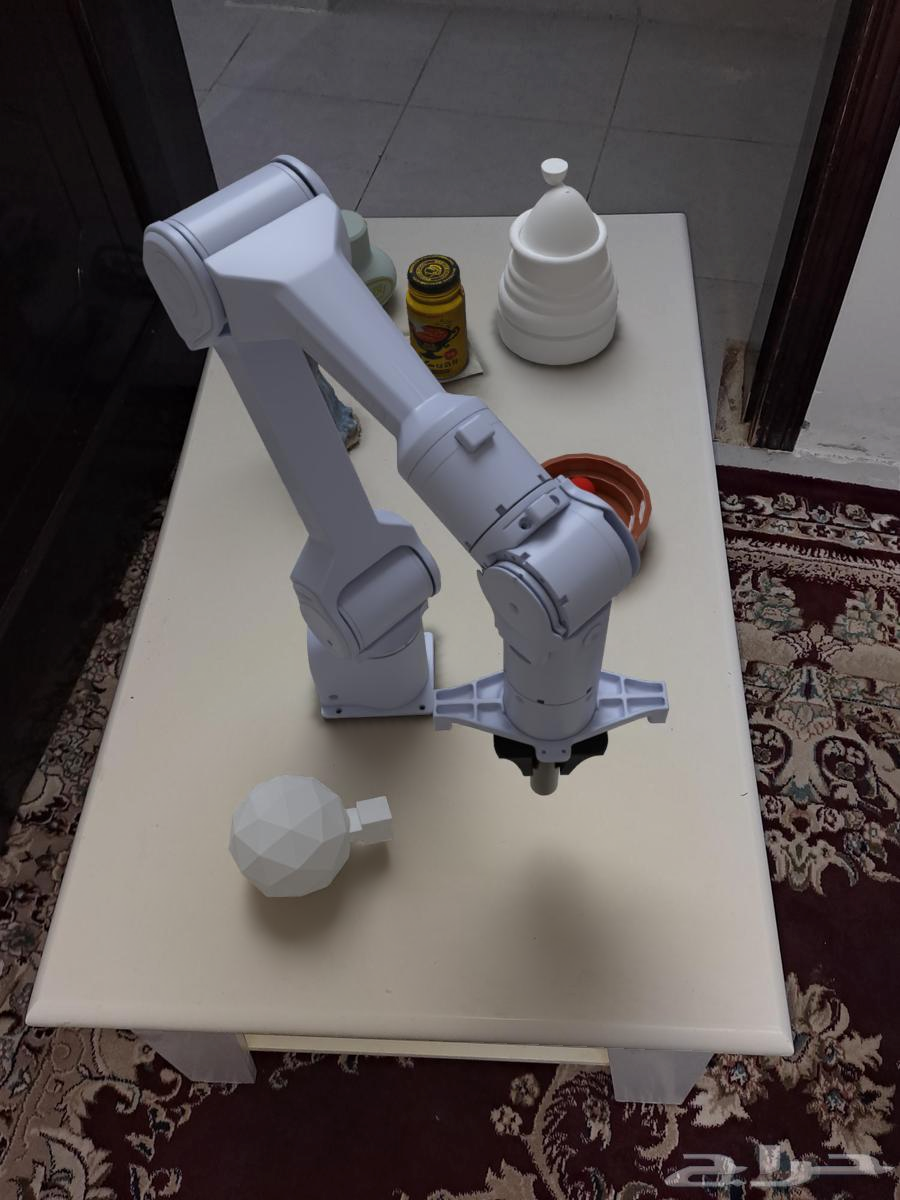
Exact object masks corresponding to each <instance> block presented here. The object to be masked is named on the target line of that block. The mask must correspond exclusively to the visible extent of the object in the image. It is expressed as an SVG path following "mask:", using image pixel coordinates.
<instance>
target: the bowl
mask: <svg viewBox="0 0 900 1200" xmlns="http://www.w3.org/2000/svg"><path fill="white" fill-rule="evenodd" d="M539 464H540V465H541V466H542V467H543V468H544V469H545V471H546V472H547V473H548V474H549V475H550V476H551V477H552V478H553V480H554V479H555V478H557V477H558V476H560V475H562V476H564V477H565V478H566V479H567V478H568V479H569V480H571V479H573V478H576V477H583V478H586V479H588V480H589V481H591V482H592V484H593V485H594V488H595V495H596V496H597V497H599V498H601V499H602V500H603V501H605V502H606V503H607V504H608V505H610V506H611V507H612V508H613V509H614V511H615V512H616V513H617V515H618V516H619V517H620V519H621V520H622V521H623V522H624V524H625V525H626V526H627V528H628V529H629V531H630V532H631V534H632V536H633V538H634V540H635V542H636V544H637V547H638V550H639V554H640V553H641V551H643V549H644V548H645V545H646V540H647V536H648V532H649V529H650V522H651V521H650V520H651V517H652V511H653V507H652V501H651V495H650V491H649V489H648V488H647V486H646V484H645V483H644V481H643V479H642V477H640V476H639V475H638V474H637V473H636V472H634V471H633V470H632V469H631V468H630V467H628V465H626V464H625V463H622V462H620V461H618V460H615V459H613V458H611V457H609V456H605V455H600V454H594V453H590V452H589V453H588V452H582V453H567V454H562V455H559V456H556V457H552V458H549V459H546V460H545V461H544V462H542V463H539Z"/></svg>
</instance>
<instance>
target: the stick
mask: <svg viewBox="0 0 900 1200" xmlns="http://www.w3.org/2000/svg"><path fill="white" fill-rule="evenodd" d="M532 761H533V776H529V785H530V788H531V790H532V791H533V792H534V793H535V794H537V795H539V796H543V797H544V796H550V795H552V794H553V793H555V791H556V790H558V789H557V788H558V785H559V776H560V768H559V765H560V762H540V761H539V760H538V759H537V757H536V750H535V748H534V747H533V758H532Z"/></svg>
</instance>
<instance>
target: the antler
mask: <svg viewBox="0 0 900 1200" xmlns="http://www.w3.org/2000/svg"><path fill="white" fill-rule="evenodd" d="M302 350H303V349H302ZM303 353H304V355H305V357H306V360H307V362H308V364H309V366H310V369H311V371H312V373H313V375H314V378H315V380H316V382H317V384H318V387H319V389H320V391H321V393H322V396H323V398H324V400H325V402H326V405H327V407H328V409H329V412H330V414H331V416H332V418H333V421H334V423H335V425H336V427H337V430H338V432H339V434H340V436H341V439H342V441H343V443H344V445H345V448H346V450H347V449H349V448H350V447H351V446H352V445H354V444H356V443H357V442H359V440H360V437H359V436H360V431H361V429H360V428H361V426H362V424H361V422H360V421H361V420H360V417H359V416H358V415H357V414H356V413H354V410H353V408H352V407H350V406H346V405H345V404H344V403H343V401H341V400H339V398H338V397H337V395H336V392H335V389H334V388H333V386H332V385H331V383H330V382H329V381H328V380H327V378H326V377H325V376H324V374H323V373H322V372H321V370H320V367H319V366H320V365H319V364H318V363H317V362H316V361H315V360H314V359H313V358H312V357H311V356H310V355H309V354H307V353H306V352H305V351H304V350H303Z"/></svg>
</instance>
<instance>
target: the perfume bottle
mask: <svg viewBox="0 0 900 1200" xmlns="http://www.w3.org/2000/svg"><path fill="white" fill-rule="evenodd" d="M389 806H390V805H389V803H388V799H387V796H386V795H383V796H378V797H374V798H368V799H365V800H359V801H355V807H351V808H345V805H344V804H343V802H342V800H341V798H340V796H339V795H338V794H336V793H335V792H334V791H333V790H331V789H329V788H328V787H327V786H326V785H325V784H323V783H322V782H321V781H319V780H318V779H317V778H315V777H313V776H300V775H288V774H287V775H286V774H280V775H277V776H275V777H273V778H270V779H269V780H267V781H264V782H262V783H259V784H257V785H255V786H253V788H252V789H251V790H250V791H249V793H248V794H247V795H246V796H245V797H244V799H243V801H242V802H241V803H240V804H239V805H238V807H237V808H236V809H235V811H234V812H233V813H232V817H231V825H230V833H229V834H230V835H229V842H228V851H229V852H230V855H231V856H232V859H233V861H234V863H235V865H236V867H237V868H238V870H239V872H240V873H241V874H242V876H243V877H244V878H246V879H247V880H248V881H249V882H250V883H251V884H252V885H253V886H254V887H255V888H256V889H258V890H259V892H261V893H262V894H263V895H264V896H266V897H267V898H283V897H284V898H288V897H289V898H294V897H295V898H296V897H298V898H299V897H300V898H301V897H304V896H307V895H309V894H312V893H314V892H317V891H319V890H322V889H324V888H327V887H330V885H331V883H332V882H333V881H334V879H335V878H336V877H337V875H338V873H339V872H340V871H341V869H342V868H343V866H345V863H346V862H347V861H348V859H349V858H350V851H351V844H353V843H356V842H361V841H362V845H363V846H366V845H371V844H375V843H380V842H384V841H389V840H390V841H391V840H393V839H394V828H393V817H392V813H391V810H390V807H389Z"/></svg>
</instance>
